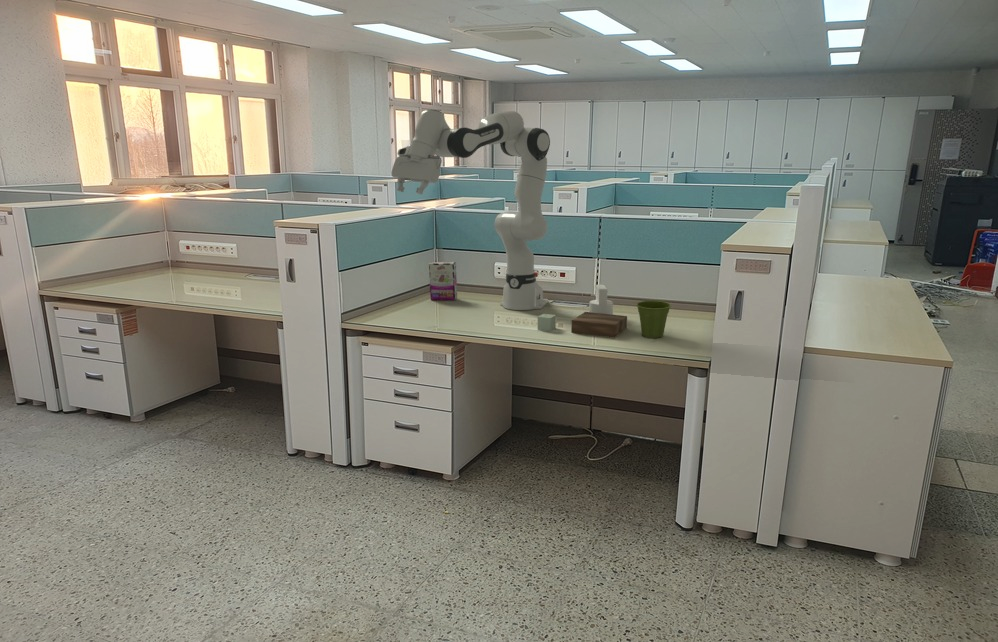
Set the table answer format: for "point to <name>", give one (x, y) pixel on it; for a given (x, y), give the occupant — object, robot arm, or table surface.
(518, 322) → the table surface
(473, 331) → the table surface
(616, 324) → the walnut block
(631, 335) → the table surface
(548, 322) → the sage cube
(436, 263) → the candy bar box
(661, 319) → the plant pot
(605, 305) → the base with upright slab
